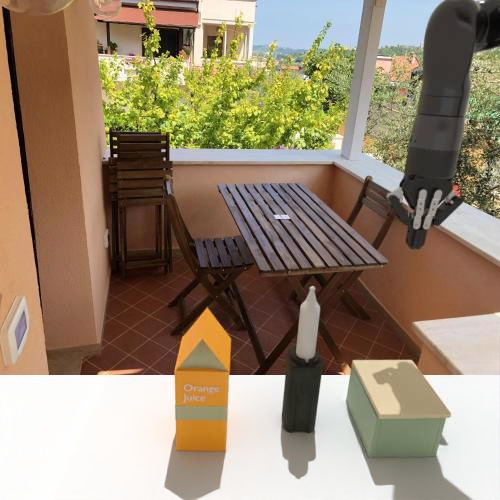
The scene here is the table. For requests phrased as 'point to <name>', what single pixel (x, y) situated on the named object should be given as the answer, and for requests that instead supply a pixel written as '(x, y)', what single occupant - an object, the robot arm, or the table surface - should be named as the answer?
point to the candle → (303, 372)
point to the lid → (399, 390)
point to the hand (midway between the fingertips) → (413, 247)
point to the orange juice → (202, 386)
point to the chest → (391, 428)
